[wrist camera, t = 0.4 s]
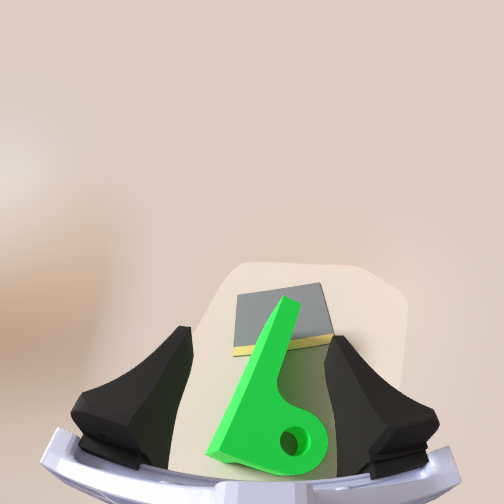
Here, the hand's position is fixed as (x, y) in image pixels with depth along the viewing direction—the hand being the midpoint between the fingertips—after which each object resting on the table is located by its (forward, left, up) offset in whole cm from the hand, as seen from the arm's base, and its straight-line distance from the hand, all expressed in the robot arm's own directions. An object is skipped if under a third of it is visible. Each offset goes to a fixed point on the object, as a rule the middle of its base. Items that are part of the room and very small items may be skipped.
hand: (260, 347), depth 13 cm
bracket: (+7, 0, -19) cm, 20 cm away
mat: (+21, 0, -19) cm, 28 cm away
